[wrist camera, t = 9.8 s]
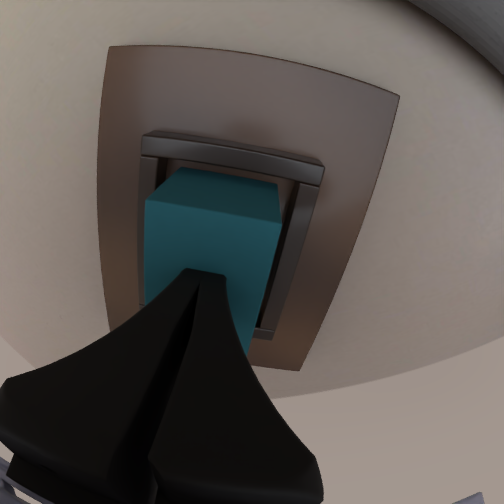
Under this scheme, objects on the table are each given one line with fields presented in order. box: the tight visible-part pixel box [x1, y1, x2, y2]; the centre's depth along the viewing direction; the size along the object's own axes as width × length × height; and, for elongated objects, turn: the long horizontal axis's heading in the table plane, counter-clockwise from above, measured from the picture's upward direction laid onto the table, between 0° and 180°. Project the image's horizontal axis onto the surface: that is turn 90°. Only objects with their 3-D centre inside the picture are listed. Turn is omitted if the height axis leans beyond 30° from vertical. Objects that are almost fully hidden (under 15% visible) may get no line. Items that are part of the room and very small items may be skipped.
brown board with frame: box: [97, 45, 400, 371], centre depth 13 cm, size 16×12×2 cm
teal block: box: [144, 167, 282, 357], centre depth 11 cm, size 6×4×4 cm, turn 169°
